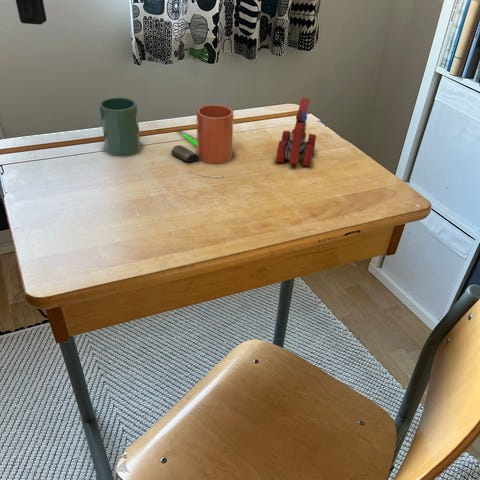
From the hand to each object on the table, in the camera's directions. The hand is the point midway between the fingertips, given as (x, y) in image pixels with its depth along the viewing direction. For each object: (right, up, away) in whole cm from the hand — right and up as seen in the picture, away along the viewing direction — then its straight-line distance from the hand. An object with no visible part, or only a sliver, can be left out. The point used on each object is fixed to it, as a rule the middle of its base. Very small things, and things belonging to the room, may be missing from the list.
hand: (33, 22), depth 72 cm
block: (+18, -9, +31) cm, 37 cm away
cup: (+24, -9, +32) cm, 41 cm away
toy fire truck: (+41, -9, +33) cm, 53 cm away
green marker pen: (+20, -5, +36) cm, 42 cm away
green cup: (+5, -7, +33) cm, 34 cm away
